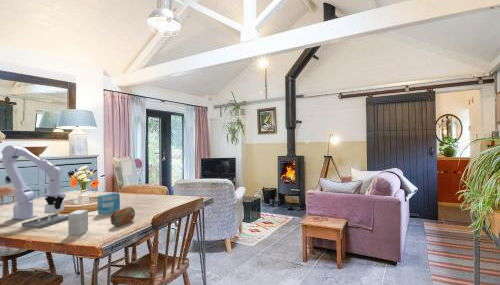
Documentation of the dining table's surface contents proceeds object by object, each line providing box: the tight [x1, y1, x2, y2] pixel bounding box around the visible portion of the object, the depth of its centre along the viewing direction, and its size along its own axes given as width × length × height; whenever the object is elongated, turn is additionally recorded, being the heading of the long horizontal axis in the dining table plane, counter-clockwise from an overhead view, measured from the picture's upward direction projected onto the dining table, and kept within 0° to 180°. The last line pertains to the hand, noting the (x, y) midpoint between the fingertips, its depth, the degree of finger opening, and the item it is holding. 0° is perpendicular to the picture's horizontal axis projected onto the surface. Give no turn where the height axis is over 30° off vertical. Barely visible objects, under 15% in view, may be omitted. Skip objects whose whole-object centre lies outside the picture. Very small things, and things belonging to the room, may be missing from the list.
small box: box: [67, 209, 89, 237], centre depth 135 cm, size 8×6×10 cm
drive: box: [44, 201, 65, 215], centre depth 167 cm, size 4×9×5 cm, turn 166°
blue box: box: [97, 192, 121, 216], centre depth 173 cm, size 12×4×12 cm, turn 146°
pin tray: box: [21, 213, 68, 229], centre depth 154 cm, size 13×20×3 cm, turn 166°
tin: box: [110, 206, 136, 227], centre depth 149 cm, size 15×3×8 cm, turn 160°
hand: (54, 208), depth 167 cm, fingers closed on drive, 4 cm apart
